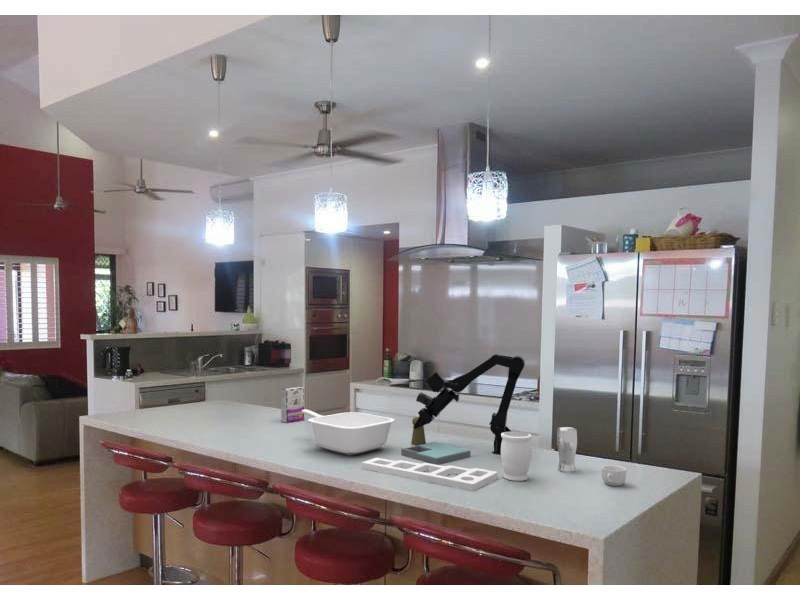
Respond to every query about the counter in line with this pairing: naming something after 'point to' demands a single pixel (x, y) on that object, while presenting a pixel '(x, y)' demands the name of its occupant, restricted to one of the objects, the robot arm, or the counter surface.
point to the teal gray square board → (435, 452)
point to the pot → (350, 431)
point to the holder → (434, 473)
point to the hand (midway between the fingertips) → (415, 426)
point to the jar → (516, 455)
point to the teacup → (613, 475)
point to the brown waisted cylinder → (418, 434)
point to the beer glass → (566, 448)
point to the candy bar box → (292, 404)
